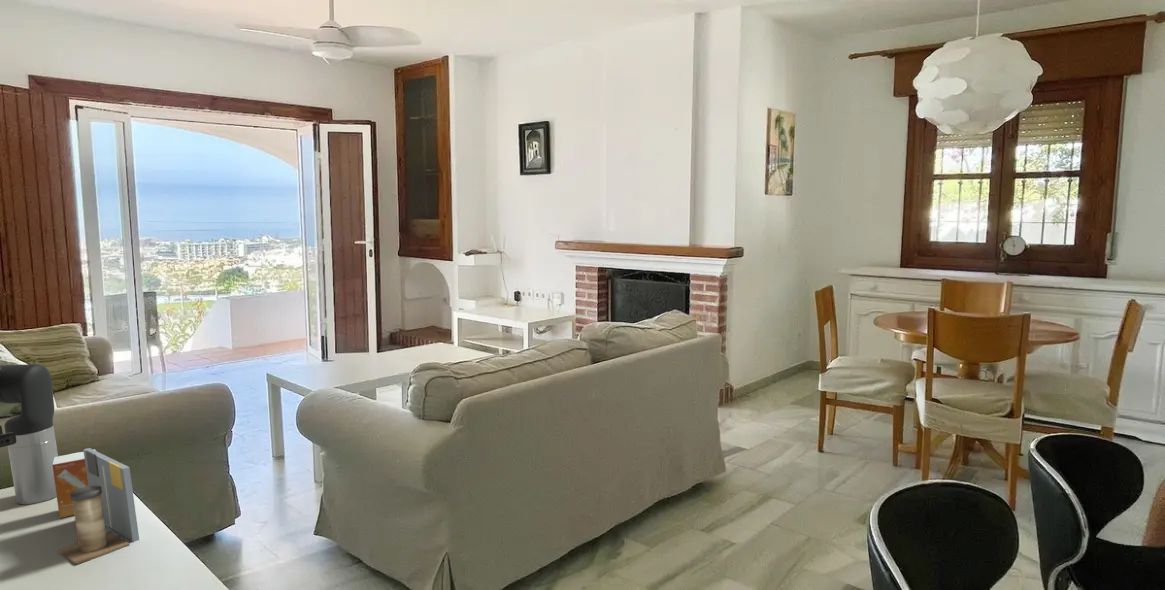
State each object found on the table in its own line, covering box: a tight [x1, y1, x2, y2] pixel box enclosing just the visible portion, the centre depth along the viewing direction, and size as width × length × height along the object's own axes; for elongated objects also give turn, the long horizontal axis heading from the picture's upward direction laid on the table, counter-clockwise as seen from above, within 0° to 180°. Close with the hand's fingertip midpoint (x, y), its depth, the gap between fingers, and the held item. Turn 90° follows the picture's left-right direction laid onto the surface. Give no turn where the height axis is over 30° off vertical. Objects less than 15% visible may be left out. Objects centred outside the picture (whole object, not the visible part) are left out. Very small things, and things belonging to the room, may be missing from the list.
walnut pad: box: [57, 530, 130, 566], centre depth 146 cm, size 10×10×1 cm
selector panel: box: [82, 447, 140, 543], centre depth 154 cm, size 22×2×16 cm, turn 53°
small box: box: [53, 449, 97, 519], centre depth 164 cm, size 8×6×13 cm
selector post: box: [70, 486, 107, 552], centre depth 145 cm, size 5×5×12 cm
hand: (8, 433), depth 133 cm, fingers open, 8 cm apart
